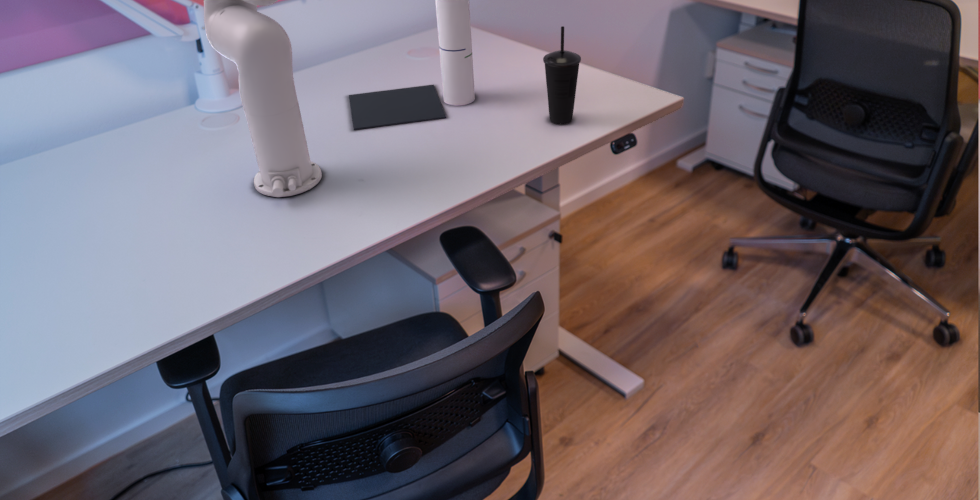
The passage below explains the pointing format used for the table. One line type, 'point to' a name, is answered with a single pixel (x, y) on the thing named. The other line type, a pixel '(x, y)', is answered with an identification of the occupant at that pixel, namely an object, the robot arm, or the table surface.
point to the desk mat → (395, 107)
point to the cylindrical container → (455, 51)
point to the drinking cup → (561, 83)
